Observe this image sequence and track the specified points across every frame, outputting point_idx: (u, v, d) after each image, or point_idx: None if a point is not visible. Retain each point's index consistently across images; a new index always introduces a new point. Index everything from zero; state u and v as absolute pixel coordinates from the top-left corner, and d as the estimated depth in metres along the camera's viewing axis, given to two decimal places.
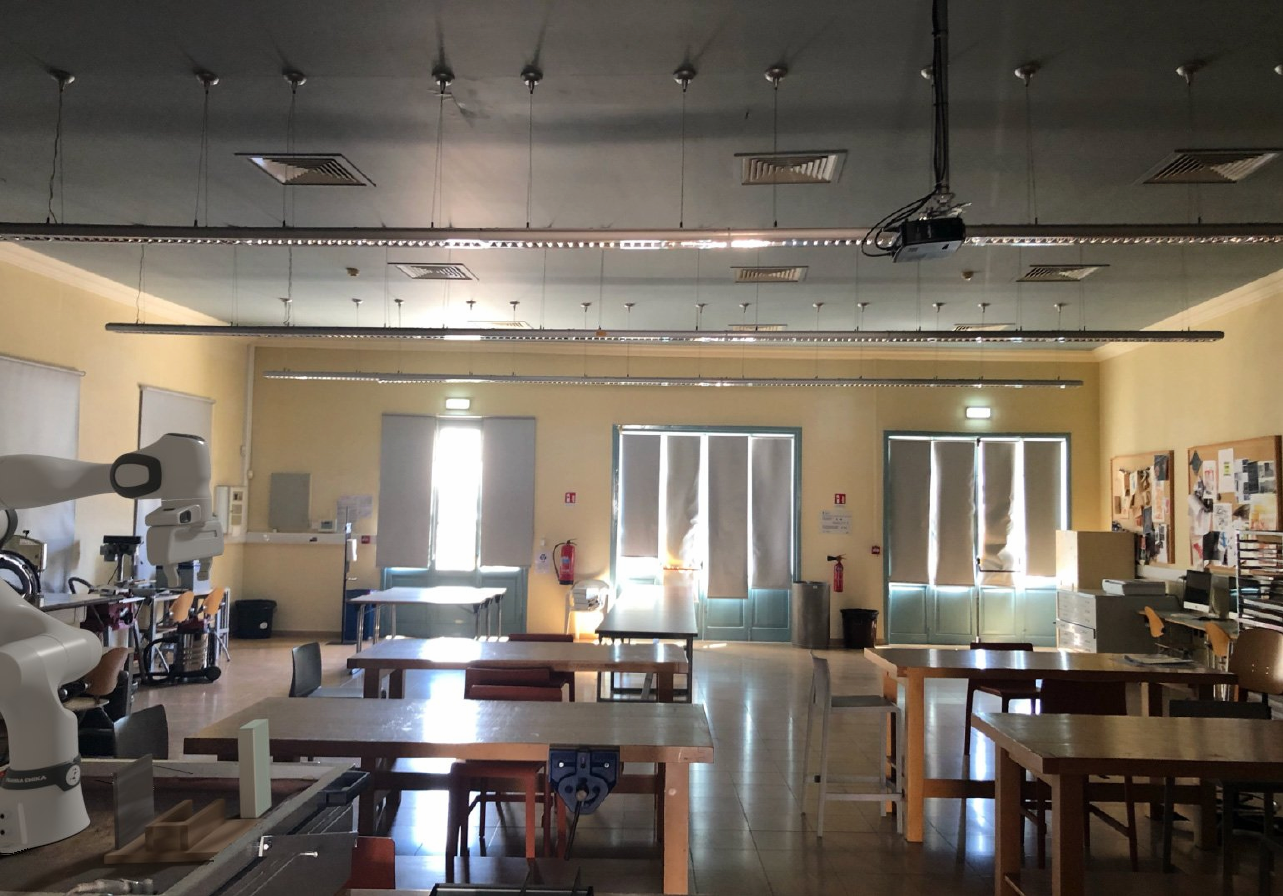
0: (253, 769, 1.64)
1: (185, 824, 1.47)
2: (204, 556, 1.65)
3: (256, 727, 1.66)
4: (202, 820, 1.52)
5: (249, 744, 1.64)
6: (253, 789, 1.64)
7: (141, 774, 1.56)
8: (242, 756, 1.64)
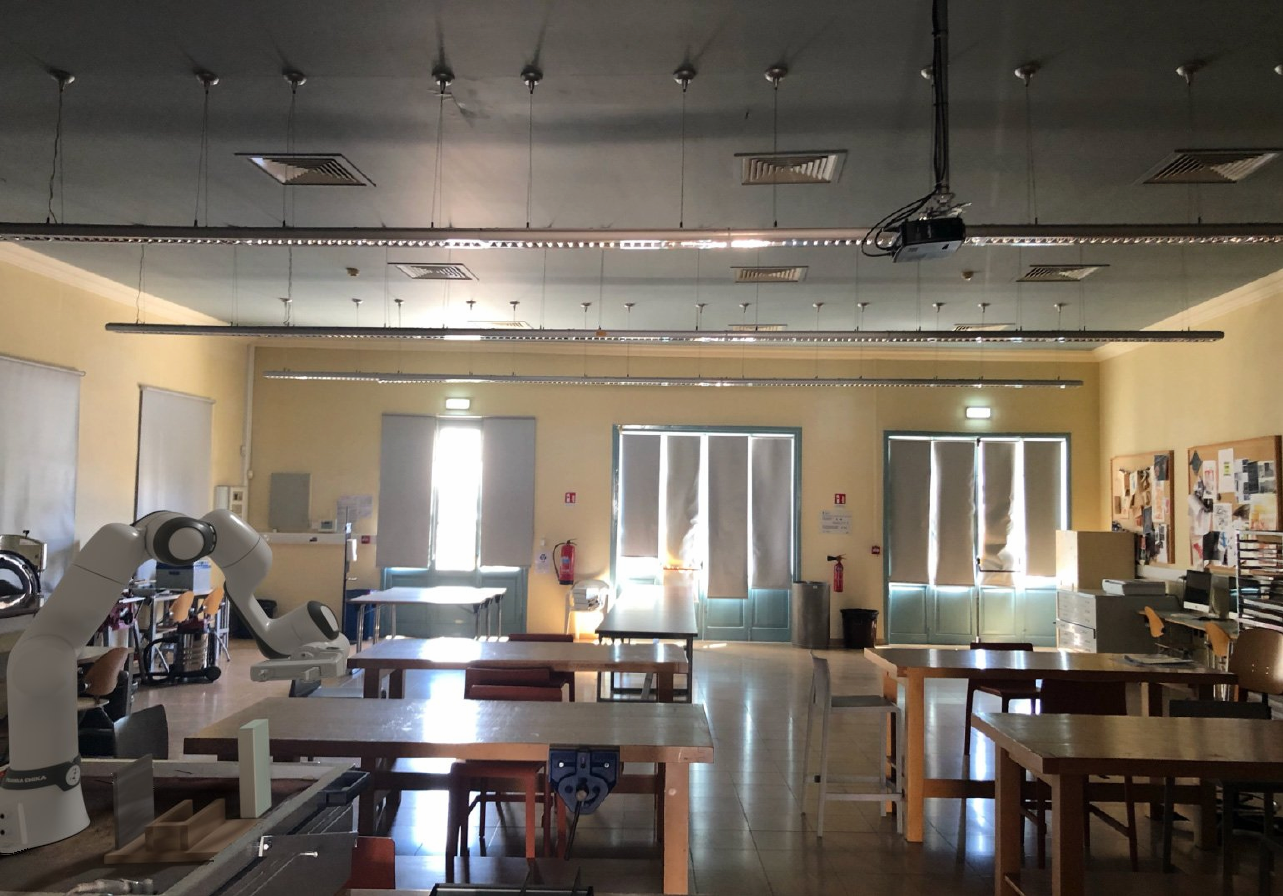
0: (253, 769, 1.64)
1: (185, 824, 1.47)
2: None
3: (256, 727, 1.66)
4: (202, 820, 1.52)
5: (249, 744, 1.64)
6: (253, 789, 1.64)
7: (141, 774, 1.56)
8: (242, 756, 1.64)
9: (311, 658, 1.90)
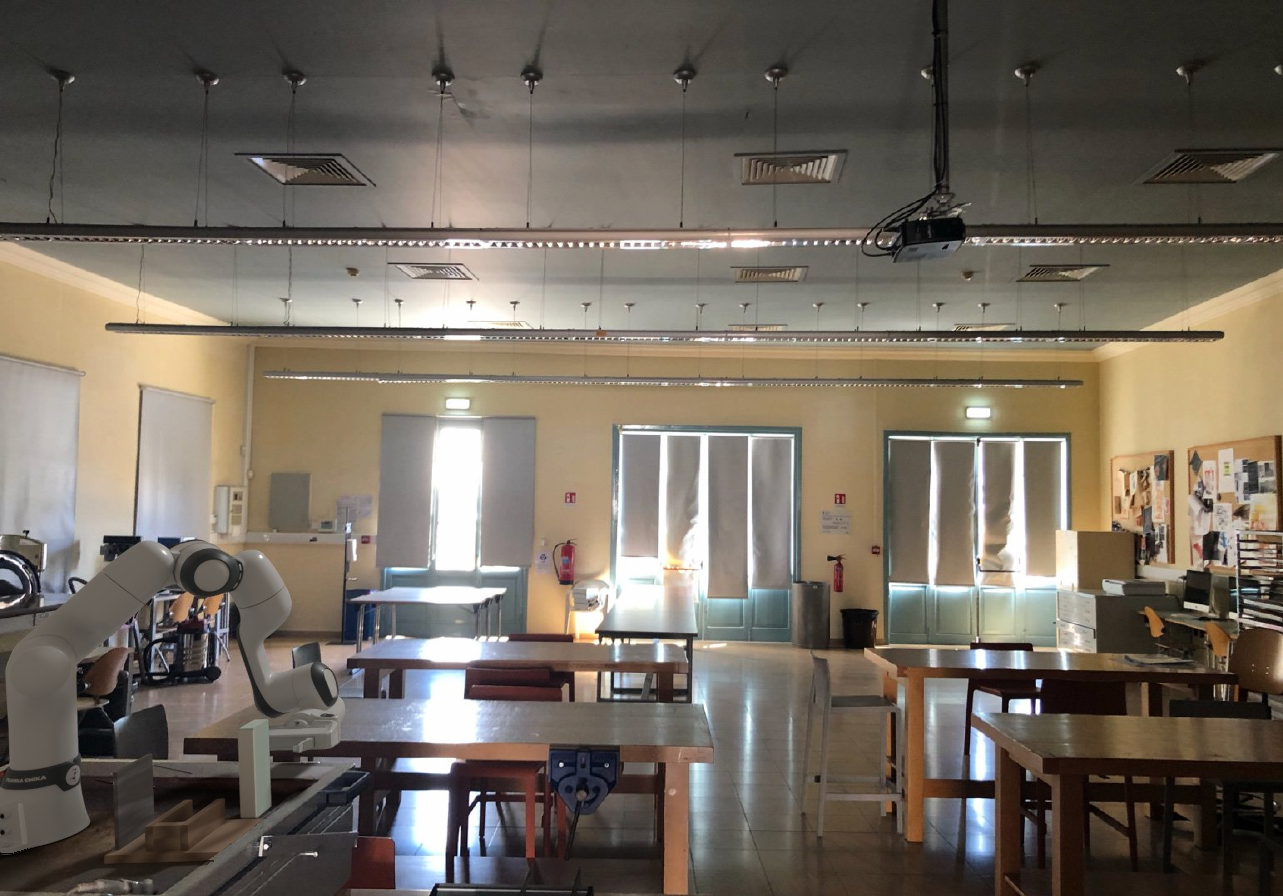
0: (253, 769, 1.64)
1: (185, 824, 1.47)
2: None
3: (256, 727, 1.66)
4: (202, 820, 1.52)
5: (249, 744, 1.64)
6: (253, 789, 1.64)
7: (141, 774, 1.56)
8: (242, 756, 1.64)
9: (305, 726, 1.86)
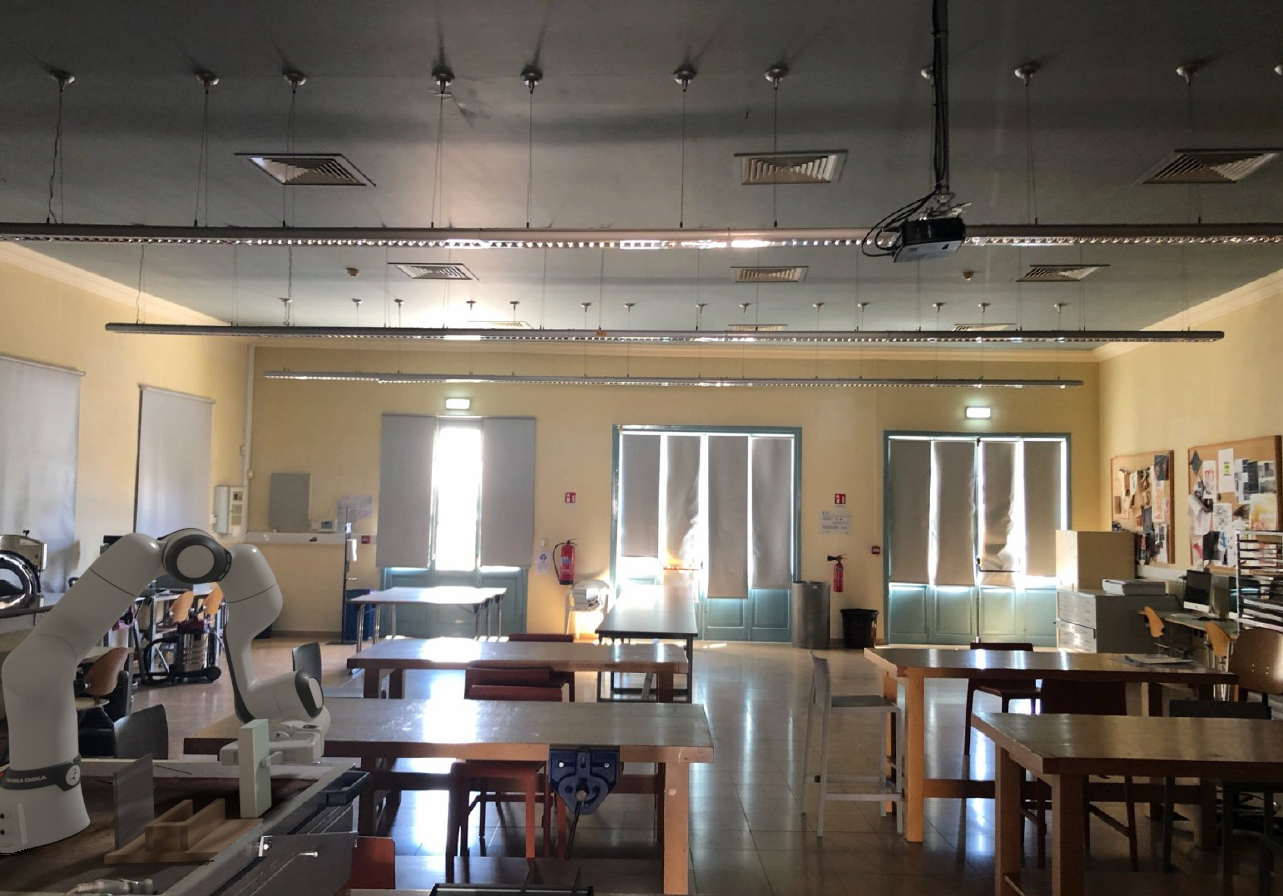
0: (253, 769, 1.64)
1: (185, 824, 1.47)
2: None
3: (256, 727, 1.66)
4: (202, 820, 1.52)
5: (249, 744, 1.64)
6: (253, 789, 1.64)
7: (141, 774, 1.56)
8: (242, 756, 1.64)
9: (286, 738, 1.77)
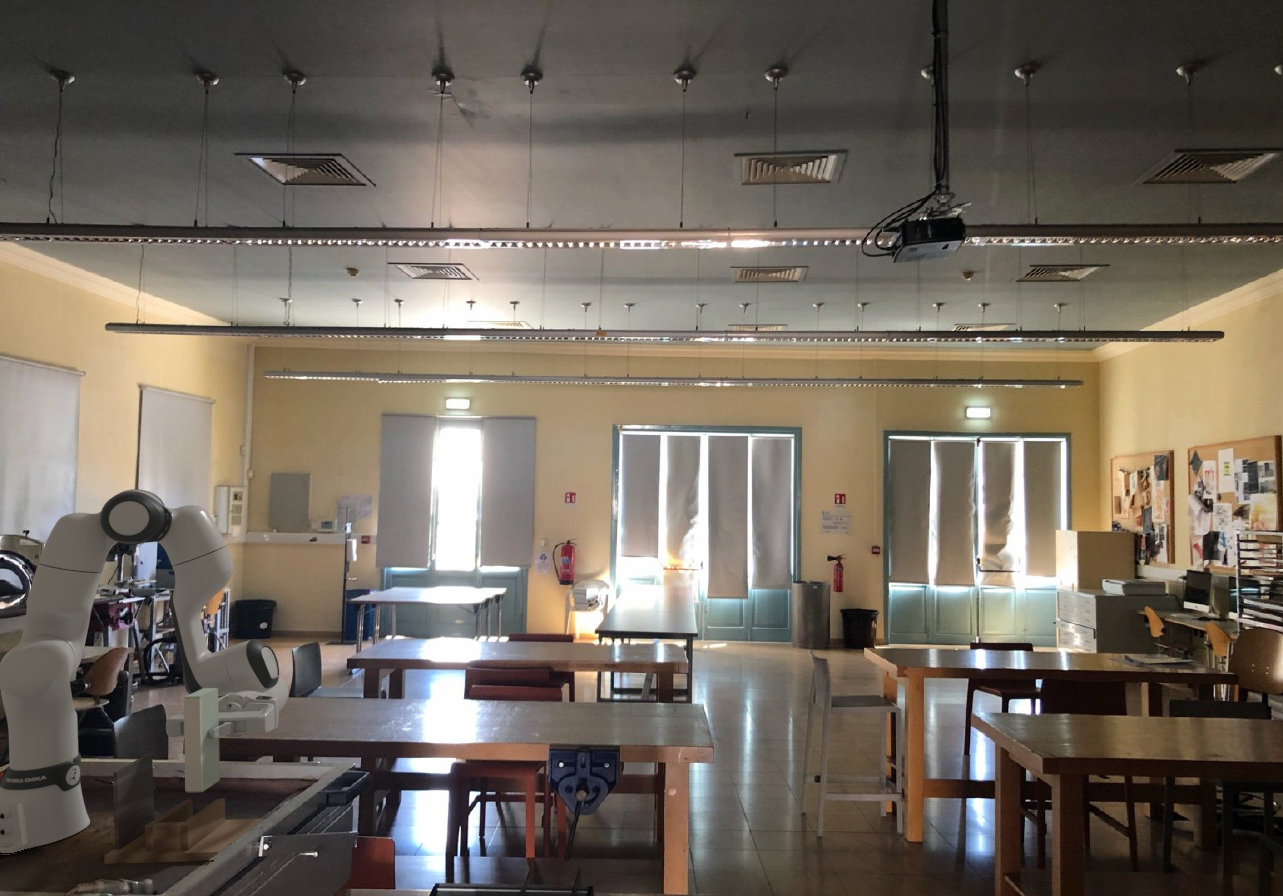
0: (199, 740, 1.54)
1: (185, 824, 1.47)
2: None
3: (204, 696, 1.56)
4: (202, 820, 1.52)
5: (195, 713, 1.54)
6: (199, 761, 1.54)
7: (141, 774, 1.56)
8: (188, 726, 1.54)
9: (238, 709, 1.67)
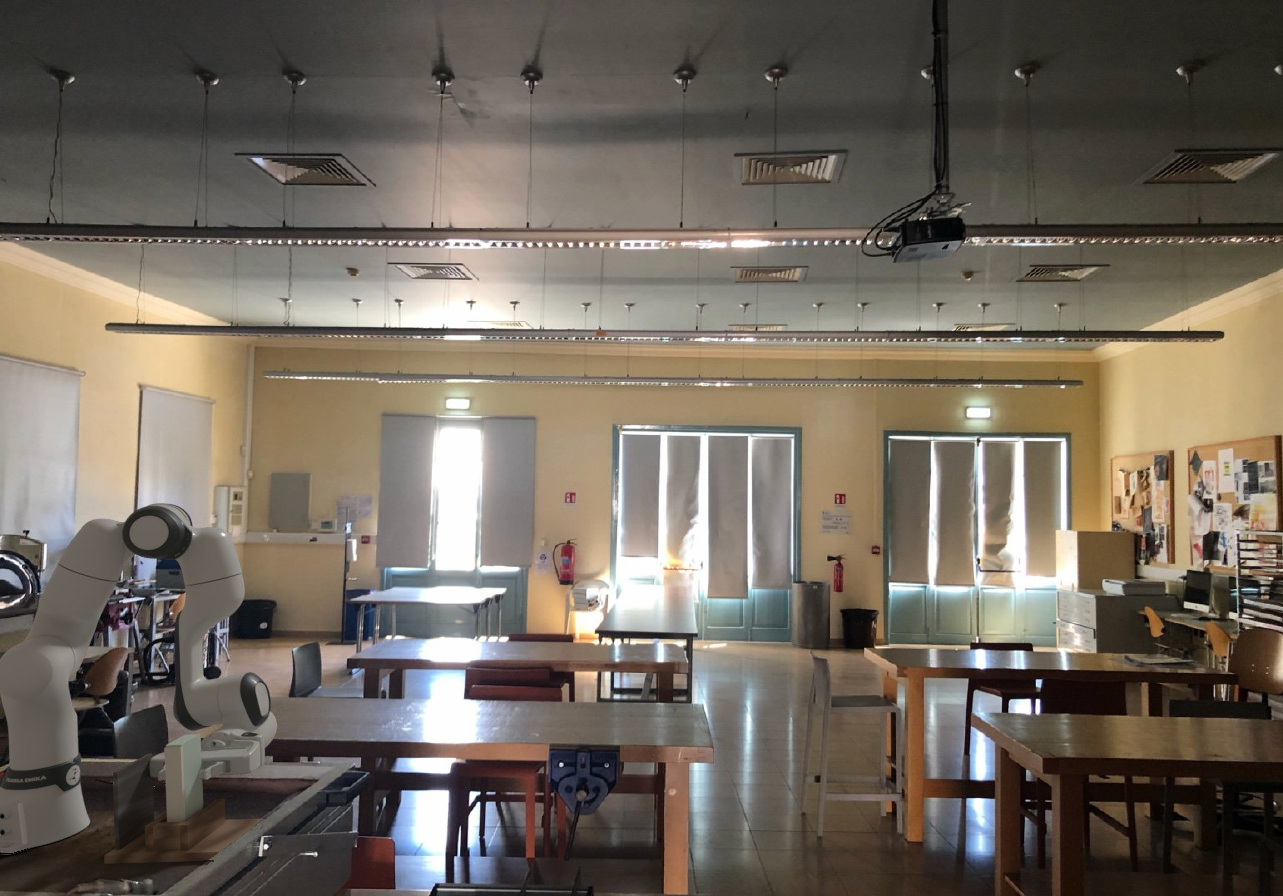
0: (181, 789, 1.50)
1: (185, 824, 1.47)
2: None
3: (185, 743, 1.52)
4: (202, 820, 1.52)
5: (177, 762, 1.50)
6: (181, 811, 1.50)
7: (141, 774, 1.56)
8: (169, 775, 1.50)
9: (223, 747, 1.63)
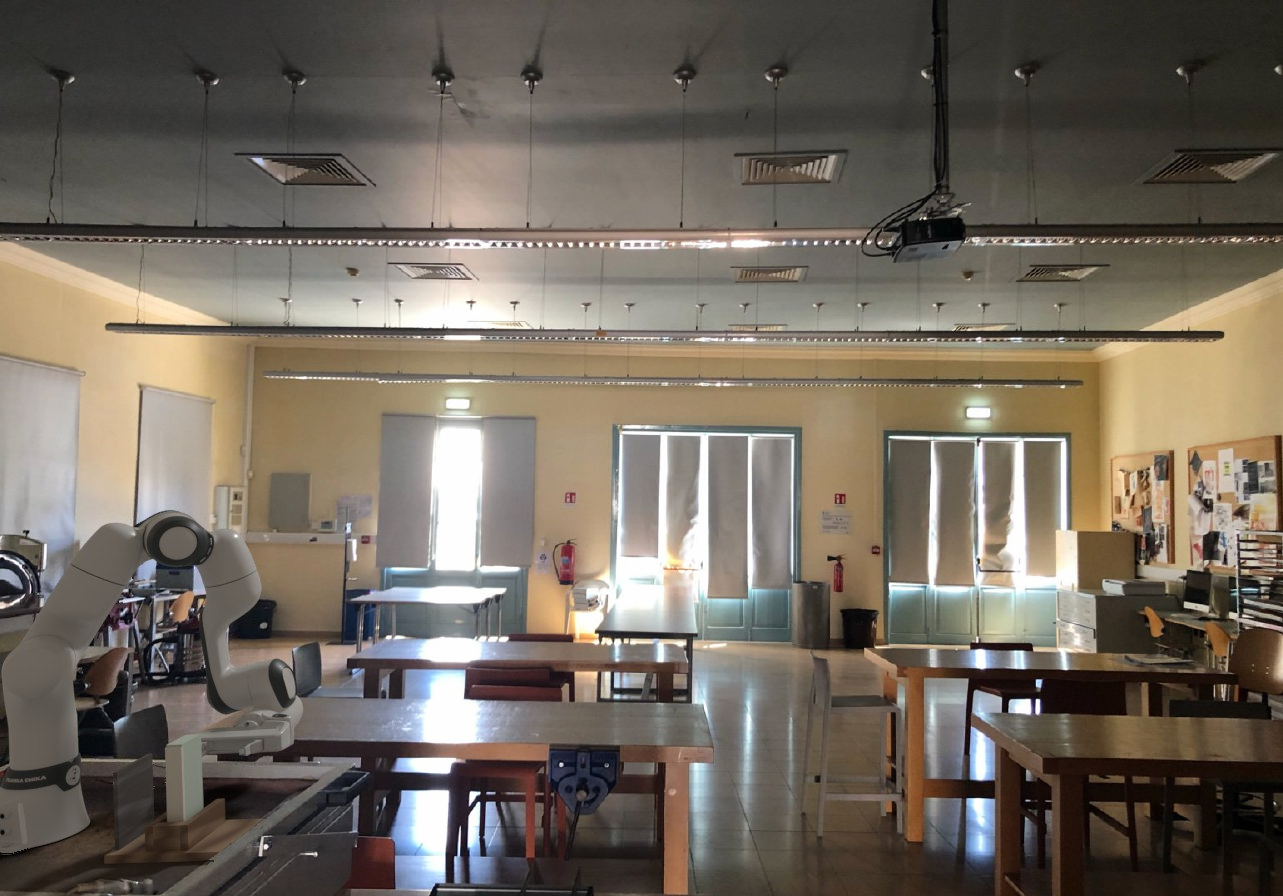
0: (181, 789, 1.50)
1: (185, 824, 1.47)
2: (222, 753, 1.70)
3: (186, 743, 1.52)
4: (202, 820, 1.52)
5: (177, 762, 1.51)
6: (181, 811, 1.50)
7: (141, 774, 1.56)
8: (170, 775, 1.51)
9: (255, 727, 1.75)
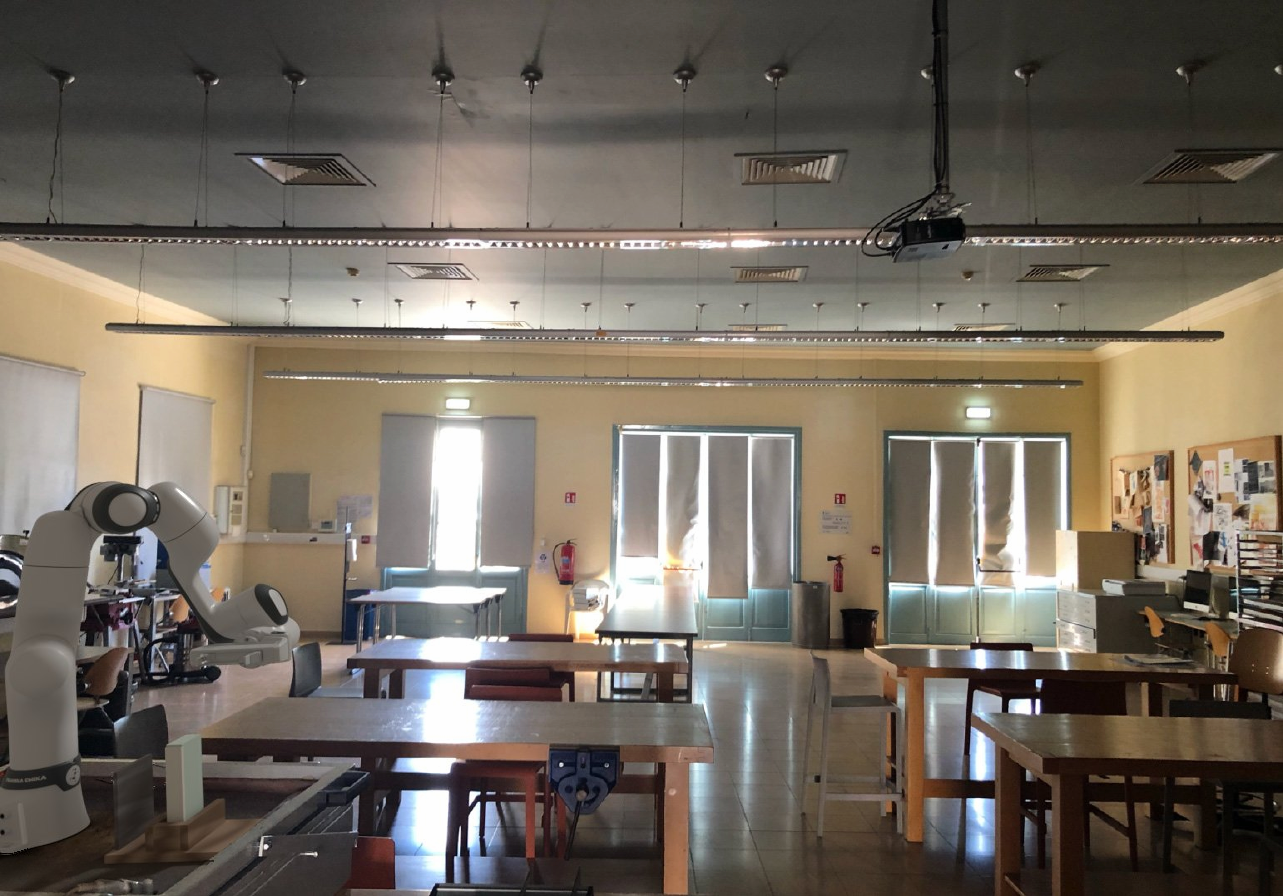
0: (181, 789, 1.50)
1: (185, 824, 1.47)
2: None
3: (186, 743, 1.52)
4: (202, 820, 1.52)
5: (177, 762, 1.51)
6: (181, 811, 1.50)
7: (141, 774, 1.56)
8: (170, 775, 1.51)
9: (255, 643, 1.83)
